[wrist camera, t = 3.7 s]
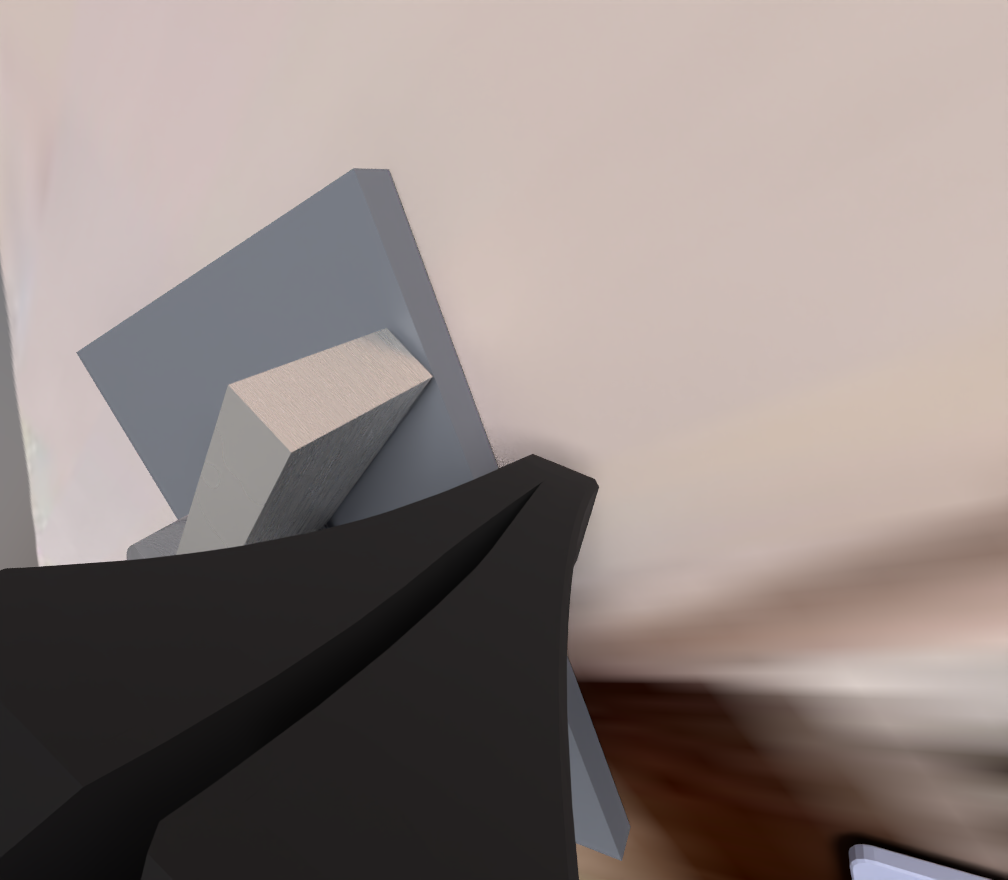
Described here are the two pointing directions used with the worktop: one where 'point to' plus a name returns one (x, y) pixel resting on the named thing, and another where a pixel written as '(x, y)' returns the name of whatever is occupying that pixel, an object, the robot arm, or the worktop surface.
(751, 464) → the worktop surface
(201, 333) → the plate
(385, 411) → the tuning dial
